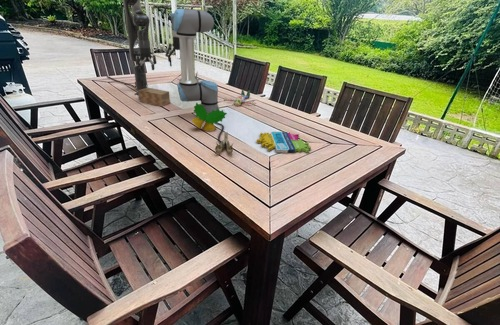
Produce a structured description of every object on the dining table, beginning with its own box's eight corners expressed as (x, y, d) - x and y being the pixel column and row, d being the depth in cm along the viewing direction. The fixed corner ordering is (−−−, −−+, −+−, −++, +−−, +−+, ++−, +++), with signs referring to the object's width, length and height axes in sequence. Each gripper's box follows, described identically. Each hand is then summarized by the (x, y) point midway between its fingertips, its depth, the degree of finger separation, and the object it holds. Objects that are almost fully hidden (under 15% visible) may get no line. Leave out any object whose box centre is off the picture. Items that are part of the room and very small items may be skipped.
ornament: (218, 133, 171) (224, 110, 169) (221, 134, 163) (227, 111, 161) (186, 125, 162) (192, 101, 160) (189, 126, 155) (195, 101, 153)
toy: (261, 91, 228) (254, 99, 202) (261, 99, 231) (253, 108, 205) (231, 87, 233) (220, 95, 207) (230, 95, 236) (219, 104, 210)
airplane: (171, 82, 265) (170, 72, 259) (201, 80, 278) (201, 70, 273) (181, 92, 236) (180, 81, 231) (214, 90, 249) (214, 79, 244)
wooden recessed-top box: (140, 101, 203) (138, 90, 199) (149, 98, 212) (148, 87, 207) (161, 106, 197) (160, 94, 192) (170, 103, 205) (169, 91, 200)
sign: (313, 150, 142) (258, 149, 139) (312, 153, 143) (258, 152, 140) (301, 132, 164) (254, 130, 161) (301, 134, 165) (254, 133, 162)
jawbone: (234, 135, 144) (233, 125, 135) (233, 160, 138) (232, 151, 129) (217, 135, 144) (216, 125, 135) (216, 160, 138) (214, 150, 129)
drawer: (133, 98, 206) (131, 89, 202) (141, 96, 213) (140, 87, 210) (158, 104, 198) (157, 94, 194) (166, 101, 205) (165, 92, 201)
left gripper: (151, 45, 192) (154, 68, 200) (132, 46, 183) (135, 70, 191) (156, 47, 187) (158, 70, 195) (137, 47, 178) (140, 72, 186)
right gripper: (192, 36, 206) (193, 65, 216) (159, 35, 196) (162, 65, 206) (195, 37, 200) (196, 66, 210) (161, 36, 190) (164, 67, 200)
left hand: (147, 70), depth 193 cm, fingers open, 8 cm apart
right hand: (179, 66), depth 208 cm, fingers open, 13 cm apart
